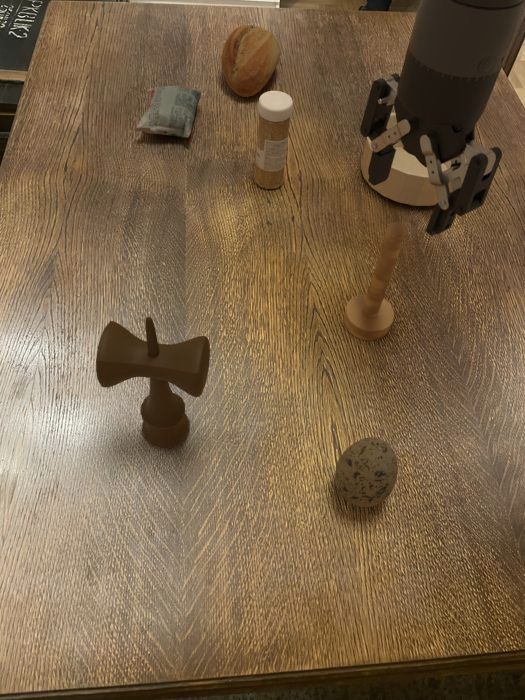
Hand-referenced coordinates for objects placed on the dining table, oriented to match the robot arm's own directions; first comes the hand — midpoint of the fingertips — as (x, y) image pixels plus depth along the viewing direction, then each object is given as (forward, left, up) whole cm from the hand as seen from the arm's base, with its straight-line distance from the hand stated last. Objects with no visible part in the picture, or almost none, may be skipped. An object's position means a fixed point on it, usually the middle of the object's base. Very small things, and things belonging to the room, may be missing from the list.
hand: (405, 205), depth 61 cm
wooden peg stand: (0, 0, -19) cm, 19 cm away
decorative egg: (+5, +22, -19) cm, 30 cm away
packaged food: (+25, -41, -19) cm, 52 cm away
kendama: (+25, +14, -19) cm, 35 cm away
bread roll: (+11, -54, -19) cm, 58 cm away
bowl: (-12, -28, -19) cm, 36 cm away
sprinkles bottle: (+10, -27, -19) cm, 35 cm away
